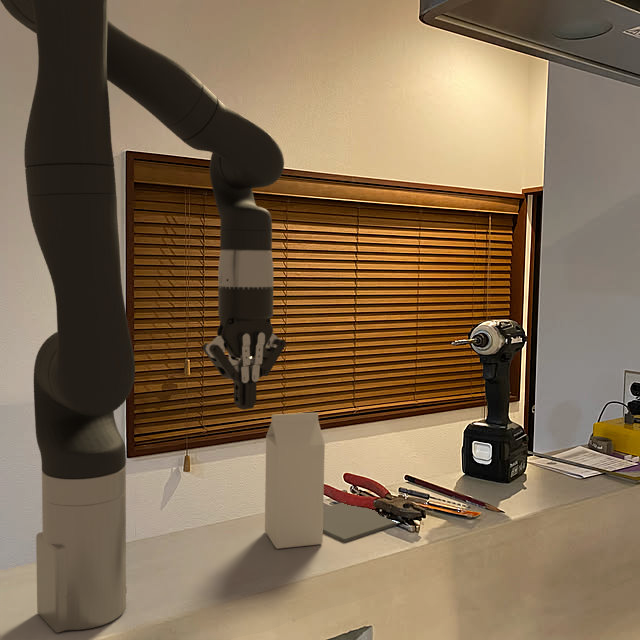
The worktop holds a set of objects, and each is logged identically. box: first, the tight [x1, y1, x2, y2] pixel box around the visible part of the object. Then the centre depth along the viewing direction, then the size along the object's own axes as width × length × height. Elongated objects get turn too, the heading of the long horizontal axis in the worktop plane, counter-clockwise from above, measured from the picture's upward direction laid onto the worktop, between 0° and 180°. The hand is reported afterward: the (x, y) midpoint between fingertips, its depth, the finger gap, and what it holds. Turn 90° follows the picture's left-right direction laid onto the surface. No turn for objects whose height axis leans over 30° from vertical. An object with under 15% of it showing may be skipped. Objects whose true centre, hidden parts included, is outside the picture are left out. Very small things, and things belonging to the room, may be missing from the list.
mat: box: [323, 502, 397, 543], centre depth 116 cm, size 18×12×1 cm, turn 131°
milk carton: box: [264, 412, 326, 549], centre depth 106 cm, size 7×7×19 cm
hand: (245, 407), depth 99 cm, fingers closed
